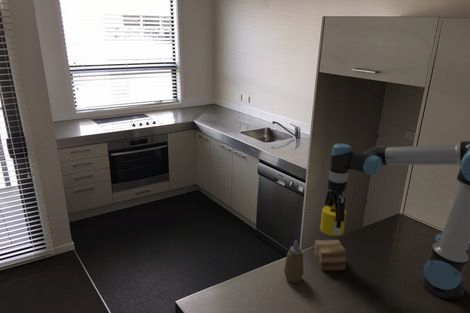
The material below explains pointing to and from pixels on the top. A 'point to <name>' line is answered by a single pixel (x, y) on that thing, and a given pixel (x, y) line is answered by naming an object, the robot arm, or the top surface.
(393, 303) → the top surface
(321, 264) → the tower block bottom
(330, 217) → the yellow toilet paper roll
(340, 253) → the tower block top
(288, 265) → the squeeze bottle
